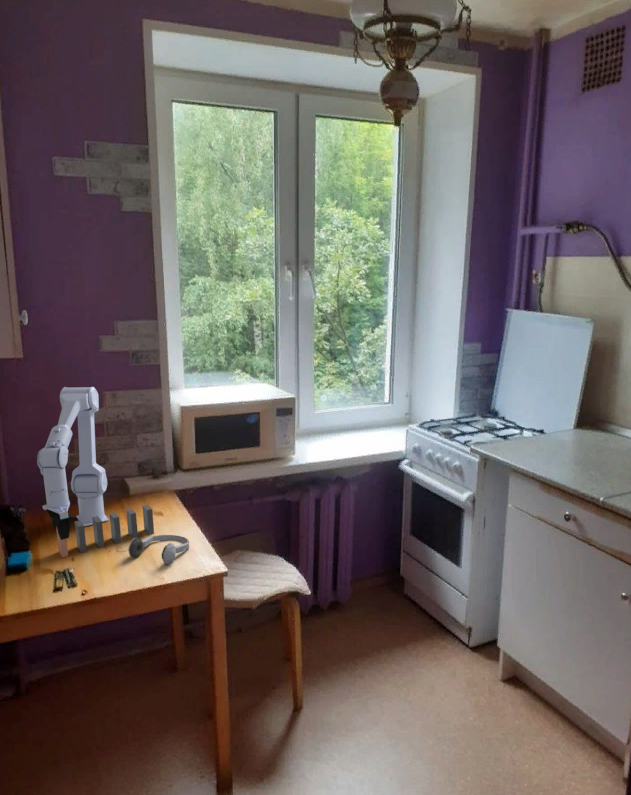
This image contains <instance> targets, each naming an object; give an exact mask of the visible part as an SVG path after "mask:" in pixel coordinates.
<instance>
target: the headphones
mask: <svg viewBox="0 0 631 795" xmlns="http://www.w3.org/2000/svg"><path fill="white" fill-rule="evenodd" d="M159 541H177V542H182V544H180V545H177V546H175V544H174V543H172V542H170V543H168V544H167V545H165V546H164V547H163V549H162V551H161V559H162V561H163V563H164V564H166V565H169V564H171V563H172V562H173V561H174V560H175V558H176V554H180V553H182V552H185V551H186V550H187V549H189V548H190V541H189V539H188V538H187V537H184V536H181V535H176V534H174V535H173V534H160V535H153V536H148V537H147V538H144V539H141V538H140V537H138V538H137V537H136V538H134V539H132V540H131V542H130V543H129V545H128V549H127V551H128V555H129V556H130V557H131V558H133V559H135V558H137V557H138V556H139V555H141V554H142V552H143V550H144V548H146V547H147V546H149V545H150V544H151V543H153V542H159ZM111 551H112V549H110V550H109V551H107V553H109V552H111ZM117 552H118V553H120V551H119V550H117ZM123 552H124V553H125V552H126V550H125V551H122V553H123Z"/></svg>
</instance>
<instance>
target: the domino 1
mask: <svg viewBox="0 0 631 795" xmlns="http://www.w3.org/2000/svg"><path fill="white" fill-rule="evenodd" d="M55 531H56V536H57V545H58V547H57V548H58V553H59V555H60V556H61V558H62V559H63V558H66V557H69V551H68V542H67V539H63V540H61V539H60V537H59V534H58V530H57V527H56V530H55Z"/></svg>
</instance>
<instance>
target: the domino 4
mask: <svg viewBox="0 0 631 795" xmlns="http://www.w3.org/2000/svg"><path fill="white" fill-rule="evenodd" d="M109 522H110V523H109V524H110V534H111V539H112V540H113V542H114V543H115V544H120V543H122V531H121V523H120V516H119V515H118V513H116V512H115V511H114V512H109Z"/></svg>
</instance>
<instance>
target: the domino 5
mask: <svg viewBox="0 0 631 795" xmlns="http://www.w3.org/2000/svg"><path fill="white" fill-rule="evenodd" d="M125 513H126V523H127V524H126V525H127V531H128V532H127V533H128V536H130V538H131V539H132V538H136V537H138V538H139V534H138V523H137V522H138V520H137V513H136V511H135V510H134V509H133V508H132V507H130V508H126V511H125Z"/></svg>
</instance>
